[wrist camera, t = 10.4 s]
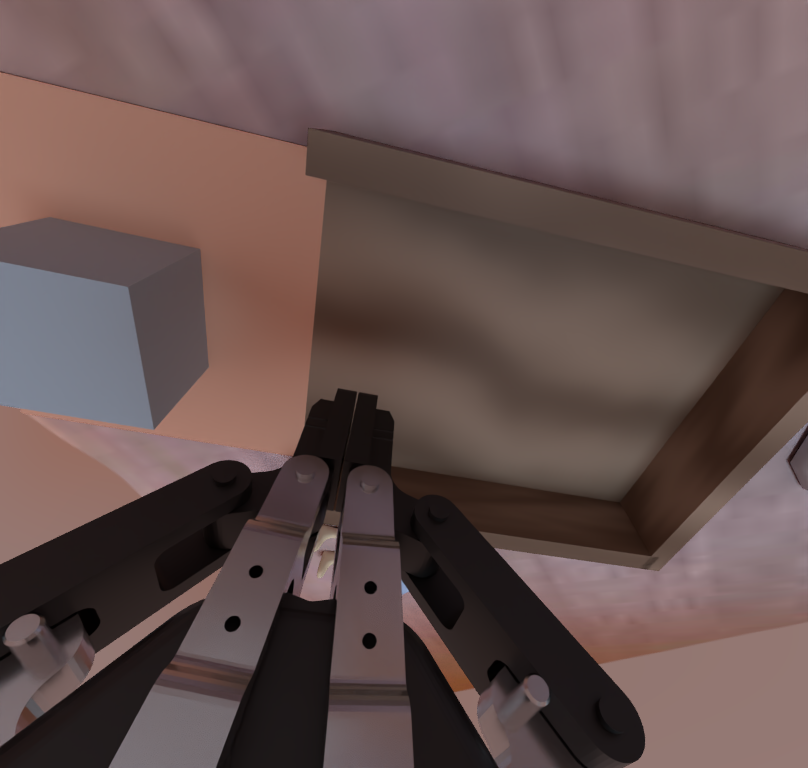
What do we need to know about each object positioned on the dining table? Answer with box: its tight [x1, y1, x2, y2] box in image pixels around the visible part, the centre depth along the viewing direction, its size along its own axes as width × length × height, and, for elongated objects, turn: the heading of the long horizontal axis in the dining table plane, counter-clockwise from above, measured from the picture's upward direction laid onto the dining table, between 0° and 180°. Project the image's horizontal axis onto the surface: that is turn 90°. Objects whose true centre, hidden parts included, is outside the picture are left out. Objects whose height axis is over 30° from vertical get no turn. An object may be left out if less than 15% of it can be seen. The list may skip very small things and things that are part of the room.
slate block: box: [0, 217, 209, 430], centre depth 15 cm, size 6×6×5 cm
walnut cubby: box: [304, 128, 808, 571], centre depth 18 cm, size 17×22×4 cm
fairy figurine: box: [314, 525, 409, 594], centre depth 26 cm, size 12×5×12 cm
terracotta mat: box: [0, 72, 327, 456], centre depth 18 cm, size 16×16×1 cm
